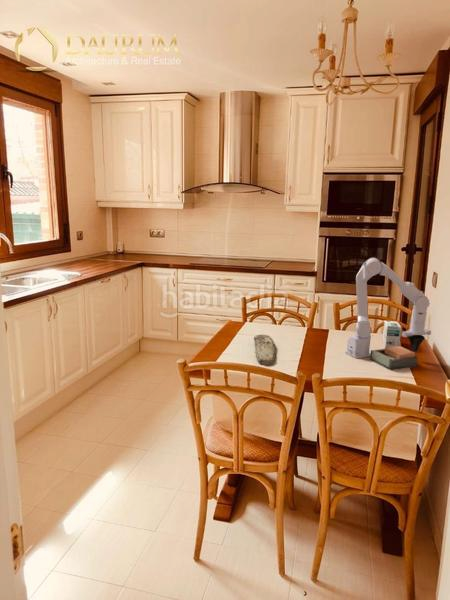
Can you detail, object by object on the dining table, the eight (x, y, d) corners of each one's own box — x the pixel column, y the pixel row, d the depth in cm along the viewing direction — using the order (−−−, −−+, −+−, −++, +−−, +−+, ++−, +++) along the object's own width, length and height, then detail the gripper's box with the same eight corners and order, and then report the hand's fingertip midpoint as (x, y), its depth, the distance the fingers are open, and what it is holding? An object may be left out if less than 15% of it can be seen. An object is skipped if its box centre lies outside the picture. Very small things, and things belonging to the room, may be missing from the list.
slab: (399, 359, 182) (400, 354, 181) (384, 352, 190) (385, 347, 189) (414, 358, 184) (414, 352, 184) (398, 351, 193) (399, 345, 192)
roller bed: (390, 370, 179) (391, 359, 177) (369, 359, 190) (370, 349, 189) (416, 366, 183) (417, 356, 182) (394, 356, 195) (396, 346, 194)
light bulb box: (399, 348, 206) (402, 327, 204) (384, 347, 207) (387, 325, 205) (395, 341, 216) (398, 321, 214) (381, 340, 218) (384, 320, 215)
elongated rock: (253, 368, 180) (276, 370, 180) (254, 356, 179) (278, 359, 179) (252, 338, 214) (272, 340, 214) (254, 328, 213) (274, 330, 212)
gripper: (412, 325, 180) (407, 355, 184) (438, 322, 186) (433, 352, 189) (399, 320, 187) (396, 350, 190) (425, 318, 192) (421, 347, 195)
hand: (414, 351), depth 190 cm, fingers closed
